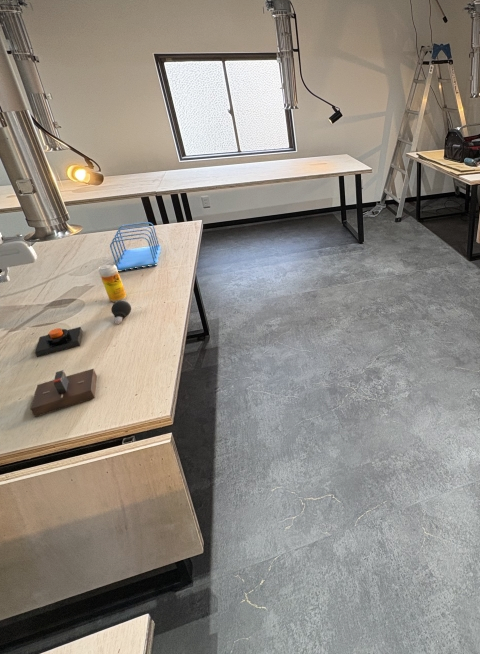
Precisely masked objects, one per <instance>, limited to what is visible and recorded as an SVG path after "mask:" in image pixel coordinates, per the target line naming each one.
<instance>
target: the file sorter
mask: <svg viewBox="0 0 480 654" xmlns="http://www.w3.org/2000/svg"><path fill="white" fill-rule="evenodd" d="M146 224H149V225H151V226H152V227H151V226H149V225H146ZM138 225H139V226H138ZM130 226H131V227H130ZM132 226H133V227H132ZM124 227H125V228H124ZM140 228H143V229H140ZM145 228H148V229H145ZM133 229H136V230H133ZM149 229H150V230H151V231H150V230H149ZM125 230H128V231H125ZM144 231H145V232H148V233H149V234H150V235H149V234H148V233H145V232H144ZM136 232H141V233H136ZM128 233H131V234H128ZM132 233H134V234H132ZM123 234H124V235H123ZM125 234H126V235H125ZM141 235H142V236H141ZM143 235H144V236H145V237H144V236H143ZM135 236H137V237H135ZM138 236H139V237H138ZM146 236H147V237H148V238H149V239H148V238H147V237H146ZM125 237H131V238H125ZM140 239H144V240H146V241H147V243H148V246H144V247H136V248H130V249H126V246H125V242H124V241H131V240H140ZM118 243H119V244H118ZM115 245H116V246H115ZM119 246H120V247H119ZM116 247H117V249H116ZM160 247H161V248H162V245H161V244H160V243H159V239H158V237H157V232H156V228H155V225H154V224H153V223H152V222H148V221H147V222H138V223H137V222H136V223H130V224H123V225H120V226H119V228H118V230H117V231H116V233H115V235H114V238H113V239H112V240H111V242H110V244H109V248H110V250H111V254H112V257H113V259H114V264H115V266H116V267H117V270H125V269H130V268H135V267H142V266H148V265H155V264H157V262H158V264H157V265H155V266H154V267H156V266H158V265H159V260H158V257H159V258H160V255H161V252H162V249H161V250H160ZM113 249H114V250H113ZM114 252H115V253H114ZM118 253H119V254H118ZM159 253H160V255H159ZM151 267H152V266H149V267H148V268H151ZM144 268H146V267H143V268H142V269H144ZM138 269H140V268H137V269H136V270H138ZM131 270H132V271H133V269H131ZM131 270H130V271H131ZM125 271H127V270H125ZM125 271H124V272H125ZM120 272H121V271H119V272H118V273H120Z"/></svg>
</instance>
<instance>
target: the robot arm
mask: <svg viewBox="0 0 480 654" xmlns="http://www.w3.org/2000/svg"><path fill="white" fill-rule="evenodd" d="M25 236H26V235H25V234H21V233H18V234H15V235H5V236H3V235H2V232H0V270H1V272H2V273H4V274H3V275H0V284H2V283H7V282H10V276H9V272H10V269H11V268H13V267H19V266H24V265H30V264H34V263H35V262H36V261H37V260H38V255H37V253H36V251H35V249H34V247H32V241H31V242H27V241H24V240H23V238H24V237H25Z"/></svg>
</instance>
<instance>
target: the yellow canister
mask: <svg viewBox="0 0 480 654" xmlns="http://www.w3.org/2000/svg"><path fill="white" fill-rule="evenodd" d="M98 273H99V275H100V278H101V281H102V284H103V287H104V289H105V291H106V295H107V297H108V300H109V301H111V302H113V303H115V302H117V301H124V300H125V299H126V297H127V293H126V291H125V287H124V284H123V281H122V279H121V276H120V272H118V270H117V266H116V264H115V263H105V264H102V265H100V266H99V267H98Z"/></svg>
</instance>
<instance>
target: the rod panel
mask: <svg viewBox="0 0 480 654" xmlns="http://www.w3.org/2000/svg"><path fill="white" fill-rule="evenodd" d="M66 377H67V379H68V386H67V391H66V392H64V393H61V394H59V393H58V391H57V389H56V387H55V385H54V379H52V380H49V381H45V382H42V383H39V384H37V385H36V388H35V391H34V395H33V399H32V400H31V401H32V402H31V405H30V411H31V413H32V415H33V417H34V418H36V417H39V416H42V415H46V414H48V413H52V412H55V411H58V410H62V409H64V408H68V407H70V406H74V405H77V404H80V403H84V402H87V401H90V400H92V399H95V397H96V388H97V378H98V375H97V372H96V371H95V368H90V369H87V370H84V371H80V372H77V373H73V374H69V375H66Z"/></svg>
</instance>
